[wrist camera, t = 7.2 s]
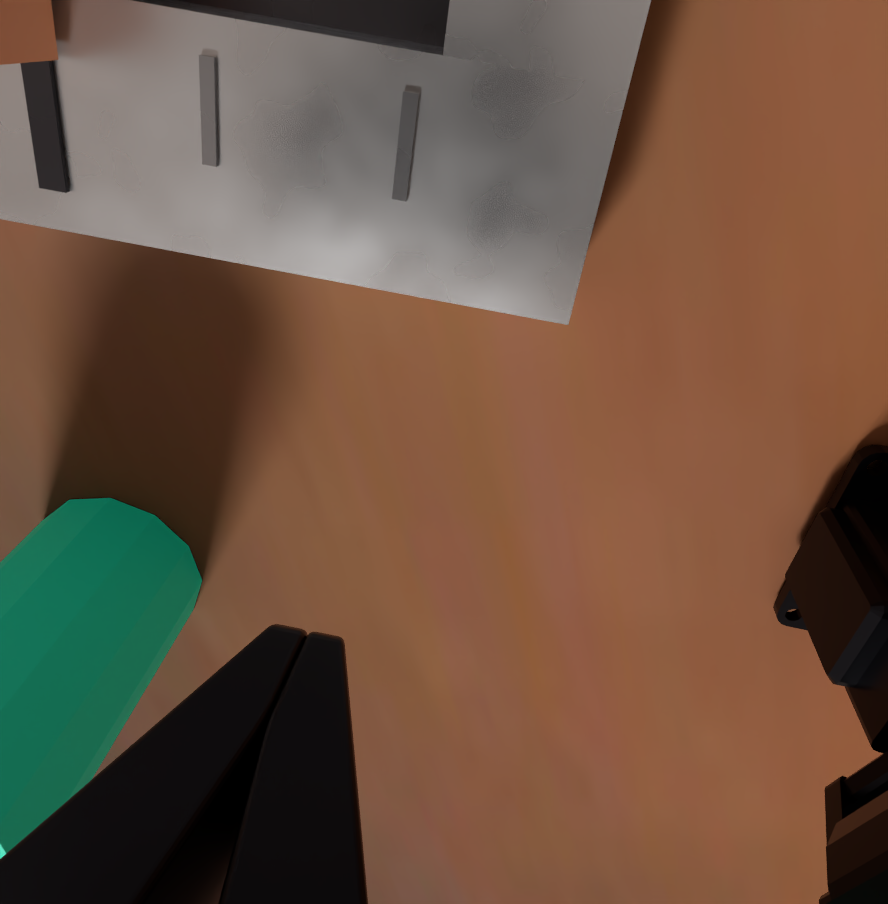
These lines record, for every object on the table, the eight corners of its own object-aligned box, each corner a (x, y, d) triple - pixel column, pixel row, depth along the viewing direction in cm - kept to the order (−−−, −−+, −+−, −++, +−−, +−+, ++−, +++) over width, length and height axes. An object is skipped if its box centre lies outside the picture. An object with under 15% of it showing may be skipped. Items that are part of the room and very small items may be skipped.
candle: (24, 482, 24) (-360, 823, 14) (197, 513, 24) (-64, 884, 14) (53, 610, 27) (-243, 965, 17) (206, 639, 27) (-1, 1016, 17)
